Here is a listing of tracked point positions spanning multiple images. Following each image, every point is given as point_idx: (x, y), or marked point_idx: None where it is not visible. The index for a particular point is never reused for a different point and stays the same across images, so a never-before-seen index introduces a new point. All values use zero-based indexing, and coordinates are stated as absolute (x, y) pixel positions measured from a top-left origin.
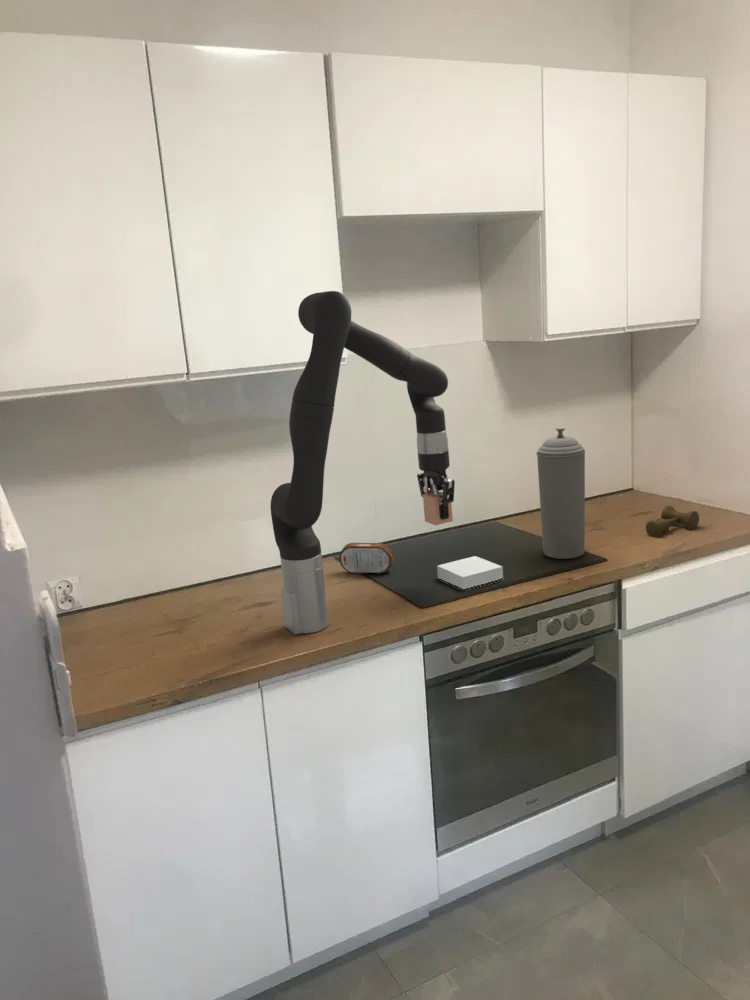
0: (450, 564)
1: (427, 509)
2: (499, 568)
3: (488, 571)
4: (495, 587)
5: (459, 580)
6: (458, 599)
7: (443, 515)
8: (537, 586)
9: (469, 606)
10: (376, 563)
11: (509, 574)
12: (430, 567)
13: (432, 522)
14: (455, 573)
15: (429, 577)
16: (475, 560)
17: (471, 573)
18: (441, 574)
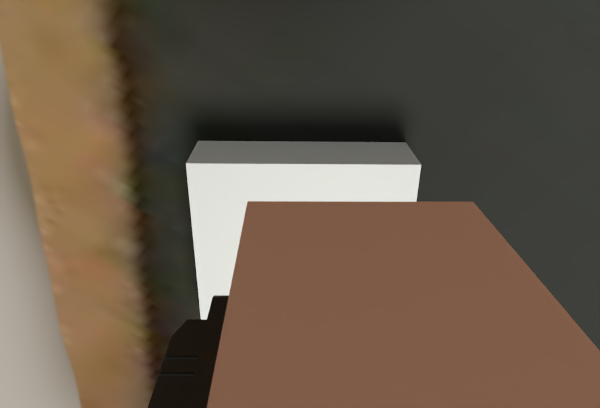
0: None
1: (441, 293)
2: None
3: (198, 284)
4: (158, 250)
5: (222, 154)
6: (116, 63)
7: (186, 338)
8: (84, 348)
9: (9, 51)
10: None
11: None
12: (548, 196)
13: (313, 210)
14: (256, 166)
15: (449, 123)
16: None
17: (208, 218)
18: (378, 152)
